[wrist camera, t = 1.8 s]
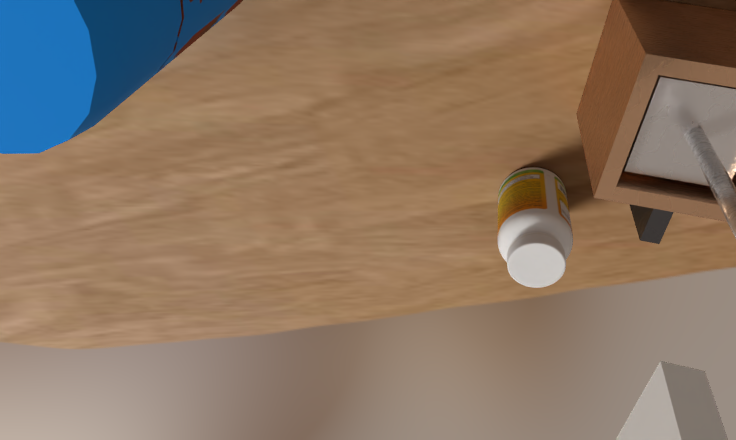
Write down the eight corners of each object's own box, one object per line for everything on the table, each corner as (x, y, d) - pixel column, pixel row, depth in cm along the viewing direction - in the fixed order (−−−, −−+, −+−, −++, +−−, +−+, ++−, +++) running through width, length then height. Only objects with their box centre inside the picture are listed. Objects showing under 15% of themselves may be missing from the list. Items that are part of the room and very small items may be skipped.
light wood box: (614, -8, 44) (645, 53, 34) (752, 13, 43) (824, 82, 33) (565, 149, 51) (579, 237, 41) (683, 170, 50) (726, 265, 40)
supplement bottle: (486, 205, 55) (483, 277, 47) (518, 154, 52) (520, 222, 44) (544, 231, 55) (550, 307, 47) (579, 182, 52) (592, 254, 44)
